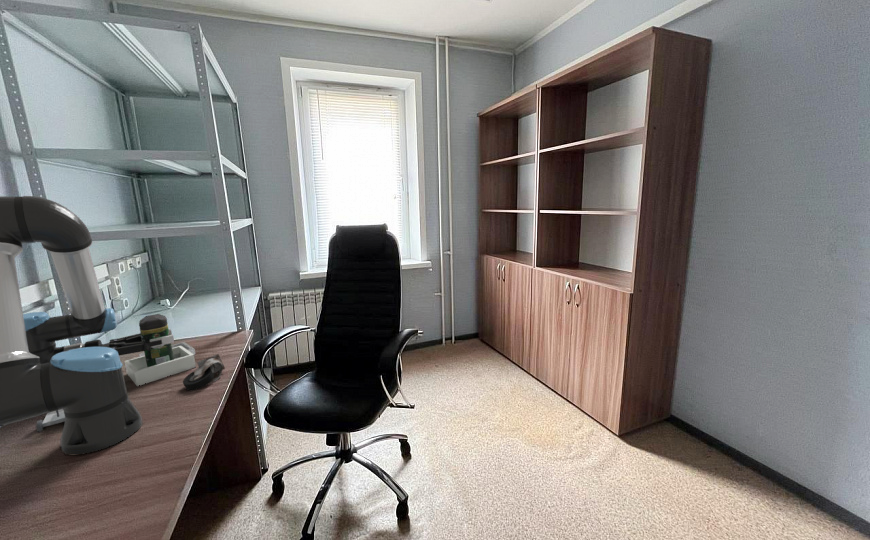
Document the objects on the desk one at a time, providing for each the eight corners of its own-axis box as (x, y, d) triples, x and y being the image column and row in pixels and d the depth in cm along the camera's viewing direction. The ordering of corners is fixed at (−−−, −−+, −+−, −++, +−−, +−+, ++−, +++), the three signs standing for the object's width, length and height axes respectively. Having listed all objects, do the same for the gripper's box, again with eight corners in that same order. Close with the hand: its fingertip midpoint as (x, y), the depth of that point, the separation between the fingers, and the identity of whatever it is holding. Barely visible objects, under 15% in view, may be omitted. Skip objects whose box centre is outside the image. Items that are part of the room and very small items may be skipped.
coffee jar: (147, 363, 126) (138, 315, 123) (173, 357, 131) (165, 311, 128) (146, 373, 119) (137, 321, 116) (175, 366, 124) (166, 316, 120)
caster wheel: (188, 399, 110) (189, 382, 118) (227, 383, 115) (225, 368, 123) (179, 383, 107) (180, 367, 115) (219, 367, 112) (218, 353, 120)
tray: (196, 367, 127) (193, 354, 126) (137, 386, 114) (134, 372, 113) (183, 357, 136) (180, 345, 136) (127, 374, 123) (124, 361, 123)
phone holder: (89, 388, 94) (26, 404, 87) (97, 420, 96) (35, 439, 89) (97, 367, 108) (42, 379, 101) (103, 395, 110) (50, 409, 103)
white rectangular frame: (195, 354, 139) (194, 348, 138) (148, 368, 127) (147, 362, 127) (185, 347, 147) (184, 341, 147) (140, 359, 136) (139, 353, 135)
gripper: (91, 354, 120) (171, 337, 135) (85, 375, 104) (177, 353, 119) (86, 334, 119) (168, 319, 133) (79, 352, 103) (173, 332, 118)
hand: (172, 335), depth 126 cm, fingers closed on coffee jar, 8 cm apart
